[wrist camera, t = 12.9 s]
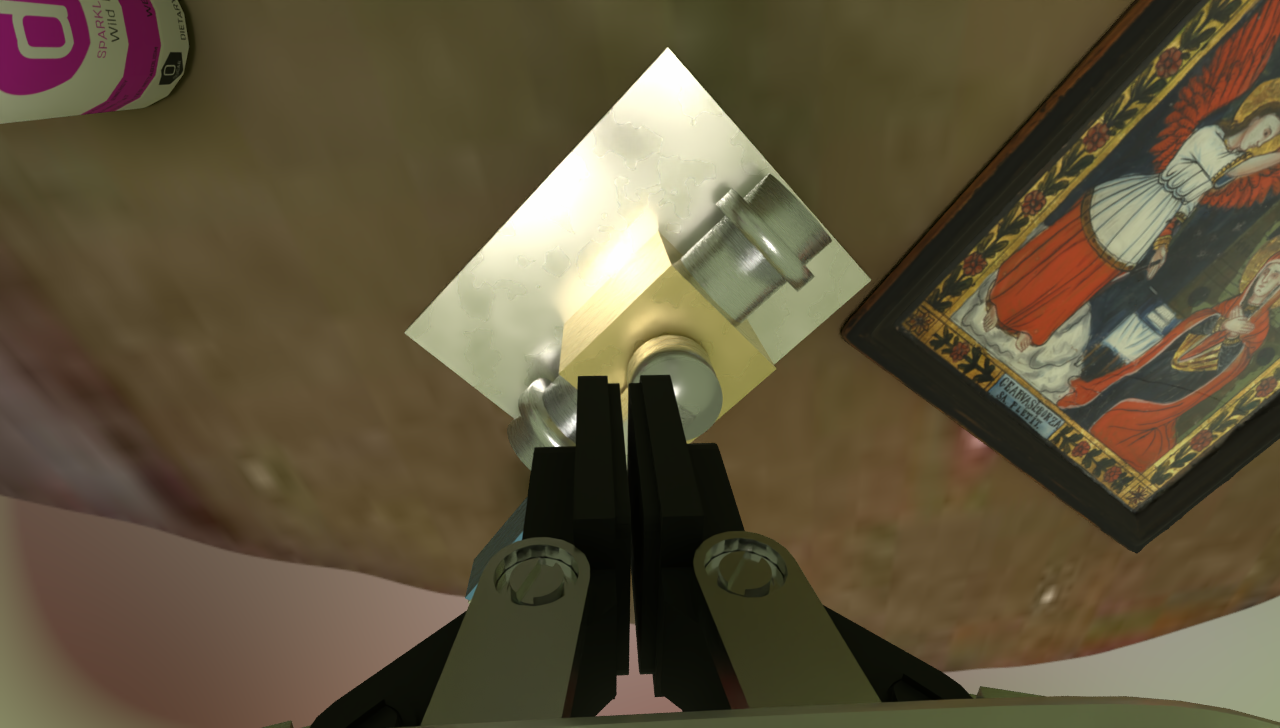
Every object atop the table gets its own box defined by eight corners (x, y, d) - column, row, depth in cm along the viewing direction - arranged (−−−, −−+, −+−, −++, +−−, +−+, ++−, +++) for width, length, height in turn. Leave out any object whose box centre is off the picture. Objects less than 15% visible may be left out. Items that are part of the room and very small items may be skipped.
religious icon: (1262, -263, 32) (1322, -291, 29) (1609, 122, 41) (1677, 127, 39) (800, 368, 45) (813, 388, 42) (1143, 550, 54) (1171, 575, 52)
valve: (666, 47, 35) (685, 44, 28) (865, 275, 41) (923, 321, 34) (408, 326, 41) (368, 384, 33) (617, 490, 47) (622, 570, 40)
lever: (663, 318, 33) (669, 341, 30) (729, 366, 34) (741, 393, 31) (463, 557, 38) (453, 595, 35) (527, 590, 39) (522, 630, 36)
